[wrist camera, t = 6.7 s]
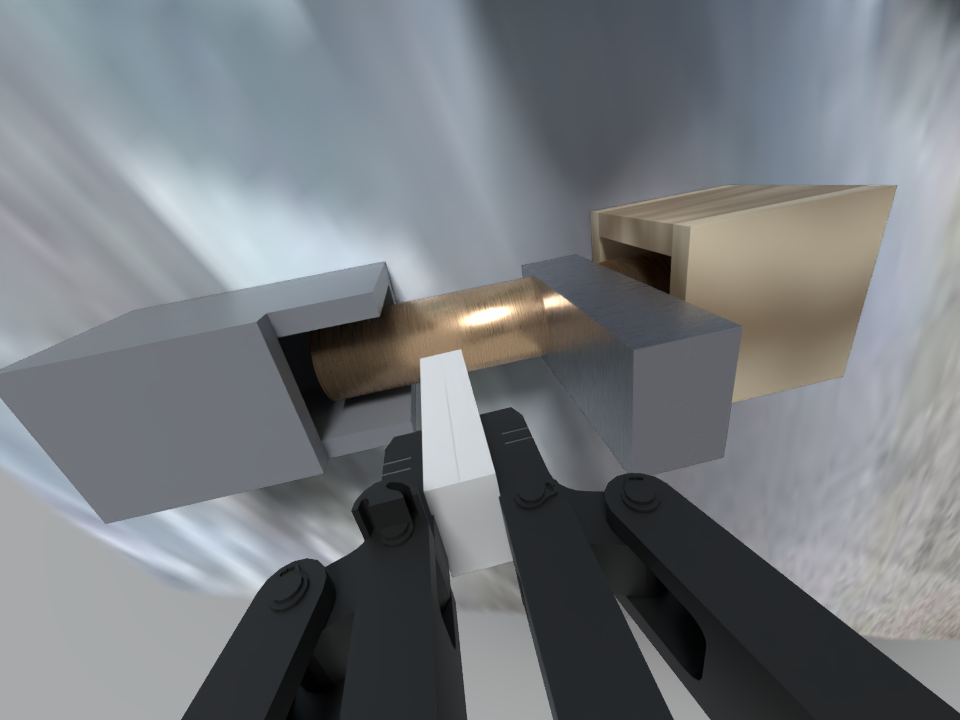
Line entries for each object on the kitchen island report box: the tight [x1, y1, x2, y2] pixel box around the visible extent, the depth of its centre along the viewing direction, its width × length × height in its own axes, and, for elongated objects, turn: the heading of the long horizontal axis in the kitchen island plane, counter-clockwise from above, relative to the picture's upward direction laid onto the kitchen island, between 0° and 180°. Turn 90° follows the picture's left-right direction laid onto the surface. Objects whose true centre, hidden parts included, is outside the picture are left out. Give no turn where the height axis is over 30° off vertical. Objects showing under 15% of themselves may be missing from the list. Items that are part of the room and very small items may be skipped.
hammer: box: [309, 251, 743, 475], centre depth 16 cm, size 4×18×12 cm, turn 100°
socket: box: [591, 185, 897, 403], centre depth 19 cm, size 8×8×8 cm
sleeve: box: [0, 262, 416, 524], centre depth 18 cm, size 7×13×8 cm, turn 100°
